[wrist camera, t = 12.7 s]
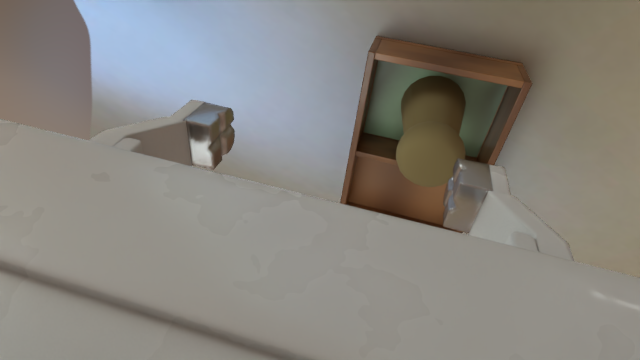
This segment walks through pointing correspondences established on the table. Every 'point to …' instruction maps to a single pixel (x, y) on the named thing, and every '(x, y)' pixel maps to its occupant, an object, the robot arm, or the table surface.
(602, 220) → the table surface
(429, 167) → the olive pawn
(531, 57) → the table surface
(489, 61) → the tray
